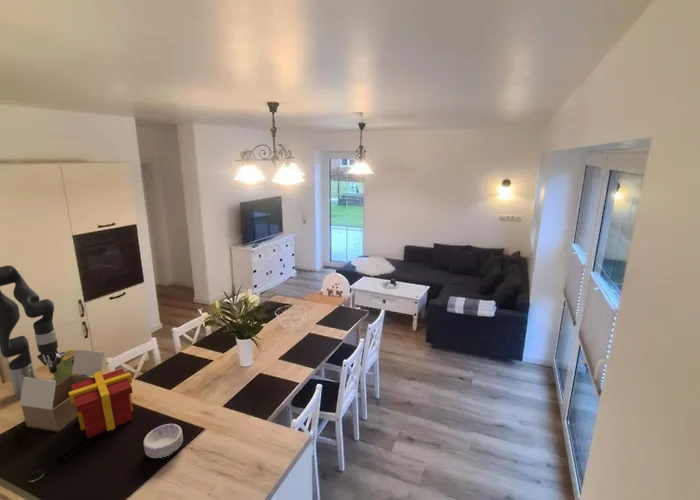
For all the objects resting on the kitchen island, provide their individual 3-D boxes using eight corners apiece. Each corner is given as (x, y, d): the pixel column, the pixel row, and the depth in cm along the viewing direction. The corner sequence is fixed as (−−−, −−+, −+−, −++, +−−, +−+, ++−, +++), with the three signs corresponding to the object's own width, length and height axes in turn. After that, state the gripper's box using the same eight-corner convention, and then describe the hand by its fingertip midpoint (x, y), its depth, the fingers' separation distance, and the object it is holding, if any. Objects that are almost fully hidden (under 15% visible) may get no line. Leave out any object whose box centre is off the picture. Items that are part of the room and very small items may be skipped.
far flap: (75, 349, 200) (76, 349, 201) (71, 373, 198) (72, 373, 199) (103, 352, 197) (104, 352, 198) (100, 376, 195) (100, 376, 196)
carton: (26, 426, 176) (21, 405, 173) (75, 394, 201) (71, 374, 198) (57, 431, 173) (52, 409, 170) (103, 397, 198) (99, 378, 195)
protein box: (76, 384, 210) (71, 360, 206) (54, 381, 213) (49, 357, 209) (92, 374, 220) (87, 351, 216) (71, 371, 223) (66, 348, 219)
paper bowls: (145, 469, 152) (142, 453, 150) (146, 445, 165) (143, 430, 163) (185, 456, 159) (183, 440, 157) (182, 433, 172) (180, 419, 170)
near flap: (20, 404, 173) (19, 405, 173) (24, 377, 174) (23, 377, 174) (52, 409, 170) (51, 409, 169) (56, 380, 171) (55, 381, 171)
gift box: (79, 445, 164) (71, 406, 160) (74, 417, 183) (66, 381, 178) (141, 420, 180) (135, 384, 176) (130, 396, 199) (125, 363, 194)
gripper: (27, 343, 172) (34, 375, 177) (50, 345, 170) (58, 378, 174) (42, 335, 180) (49, 367, 184) (65, 337, 177) (72, 369, 181)
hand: (53, 372), depth 179 cm, fingers closed
